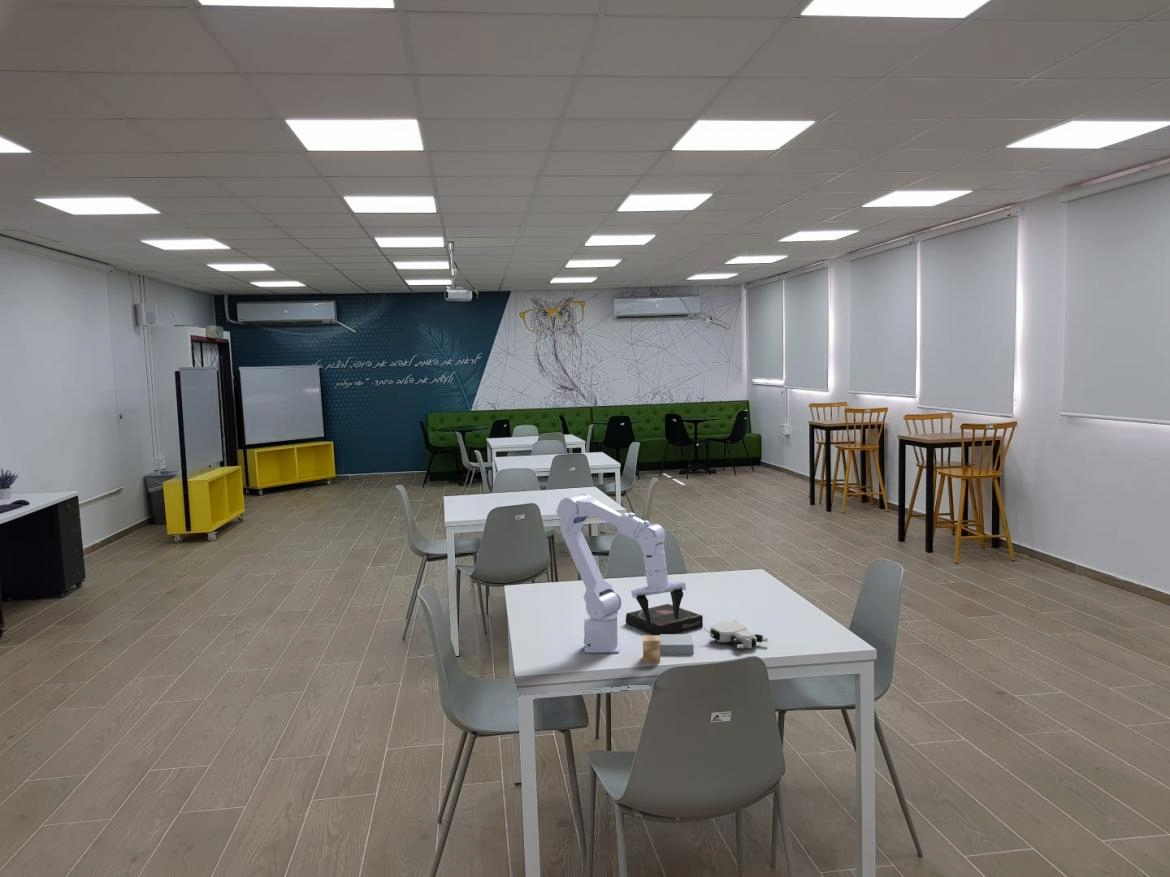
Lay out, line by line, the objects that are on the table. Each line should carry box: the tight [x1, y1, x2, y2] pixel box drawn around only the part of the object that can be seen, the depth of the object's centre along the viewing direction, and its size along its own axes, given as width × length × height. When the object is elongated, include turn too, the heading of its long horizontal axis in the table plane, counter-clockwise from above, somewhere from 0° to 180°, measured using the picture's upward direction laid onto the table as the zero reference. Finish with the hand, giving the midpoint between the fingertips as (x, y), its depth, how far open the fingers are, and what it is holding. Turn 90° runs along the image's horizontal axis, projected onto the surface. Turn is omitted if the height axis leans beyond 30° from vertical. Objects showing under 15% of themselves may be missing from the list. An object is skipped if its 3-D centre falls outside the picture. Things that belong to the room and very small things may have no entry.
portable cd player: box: [625, 603, 704, 636], centre depth 247 cm, size 16×17×4 cm
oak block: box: [642, 634, 661, 664], centre depth 217 cm, size 4×4×6 cm
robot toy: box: [703, 620, 769, 650], centre depth 228 cm, size 12×4×15 cm
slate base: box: [660, 633, 695, 655], centre depth 226 cm, size 9×9×3 cm
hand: (662, 620), depth 216 cm, fingers open, 7 cm apart
